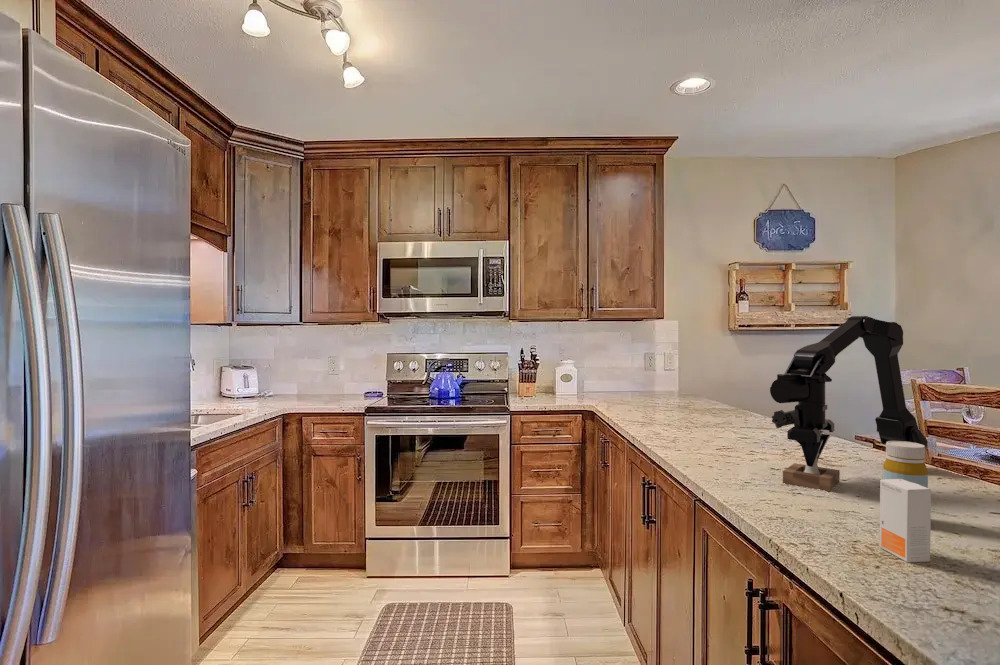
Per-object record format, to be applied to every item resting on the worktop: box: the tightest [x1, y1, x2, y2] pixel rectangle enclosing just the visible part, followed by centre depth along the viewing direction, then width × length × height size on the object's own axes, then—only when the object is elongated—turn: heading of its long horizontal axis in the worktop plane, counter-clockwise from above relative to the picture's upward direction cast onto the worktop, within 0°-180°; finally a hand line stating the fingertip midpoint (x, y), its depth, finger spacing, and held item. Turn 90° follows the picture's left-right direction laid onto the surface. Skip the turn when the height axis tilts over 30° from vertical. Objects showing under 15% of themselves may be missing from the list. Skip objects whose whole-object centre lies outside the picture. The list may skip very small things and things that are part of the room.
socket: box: [782, 462, 841, 492], centre depth 132 cm, size 10×10×3 cm
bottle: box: [882, 441, 929, 488], centre depth 107 cm, size 7×7×15 cm
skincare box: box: [878, 478, 932, 564], centre depth 91 cm, size 6×4×12 cm
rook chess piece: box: [804, 453, 820, 475], centre depth 132 cm, size 4×4×8 cm
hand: (811, 464), depth 132 cm, fingers closed on rook chess piece, 3 cm apart
